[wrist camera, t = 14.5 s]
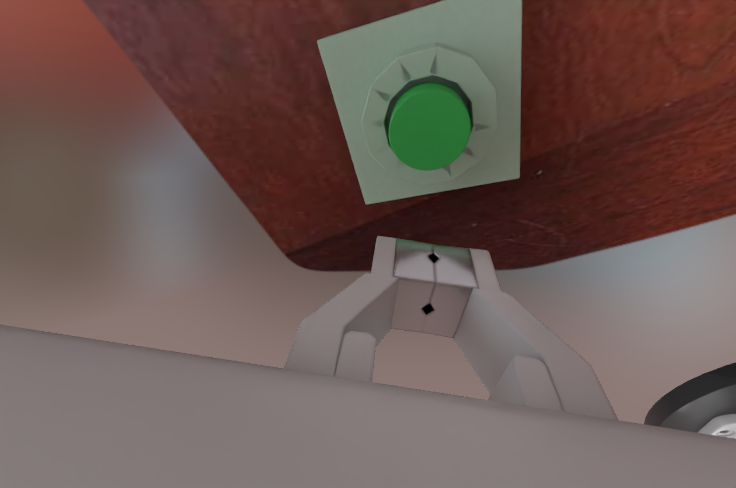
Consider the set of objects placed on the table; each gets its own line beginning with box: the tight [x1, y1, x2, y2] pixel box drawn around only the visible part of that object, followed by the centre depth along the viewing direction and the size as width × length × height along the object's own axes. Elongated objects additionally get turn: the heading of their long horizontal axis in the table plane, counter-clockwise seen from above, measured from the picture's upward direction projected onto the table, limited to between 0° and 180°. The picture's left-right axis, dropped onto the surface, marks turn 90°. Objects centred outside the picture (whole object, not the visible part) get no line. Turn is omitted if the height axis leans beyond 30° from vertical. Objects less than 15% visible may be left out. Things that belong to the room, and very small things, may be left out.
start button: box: [389, 82, 471, 171], centre depth 16 cm, size 4×4×2 cm
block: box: [317, 0, 522, 205], centre depth 18 cm, size 10×10×4 cm
